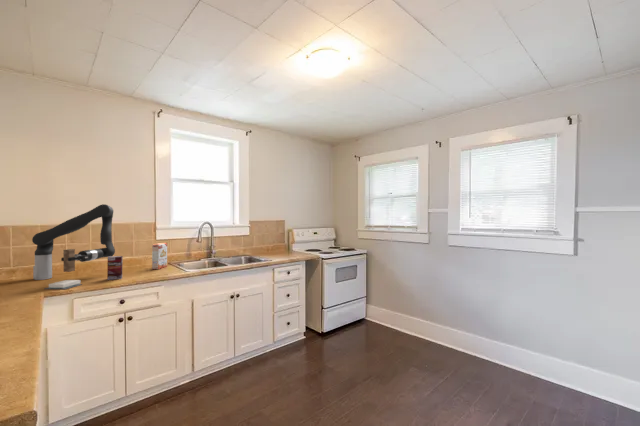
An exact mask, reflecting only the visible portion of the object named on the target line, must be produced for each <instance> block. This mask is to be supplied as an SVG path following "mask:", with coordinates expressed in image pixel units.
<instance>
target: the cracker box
mask: <svg viewBox="0 0 640 426" xmlns="http://www.w3.org/2000/svg"><path fill="white" fill-rule="evenodd" d="M151 251H152V252H151V270H160V269H164V268H167V267H168V243H167V242H160V243H159V242H158V243H153V244H152V245H151Z"/></svg>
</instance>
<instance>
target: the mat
mask: <svg viewBox="0 0 640 426" xmlns="http://www.w3.org/2000/svg"><path fill="white" fill-rule="evenodd" d="M79 286H80V287H81V286H83V283H82V284H81V283H80V284H78V285H74V286H70V287H66V288H50V287H49V286H48V287H45V288H44V290H69V289H73V288H76V287H79Z"/></svg>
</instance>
